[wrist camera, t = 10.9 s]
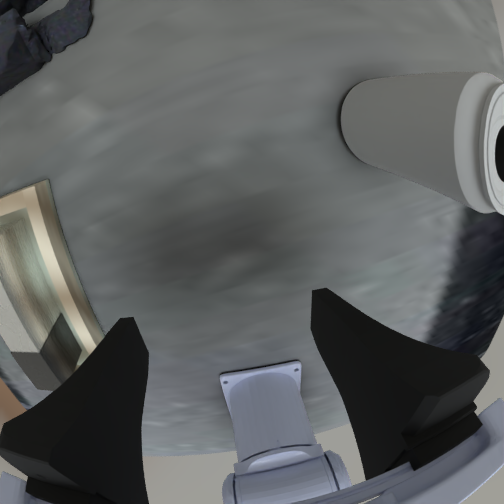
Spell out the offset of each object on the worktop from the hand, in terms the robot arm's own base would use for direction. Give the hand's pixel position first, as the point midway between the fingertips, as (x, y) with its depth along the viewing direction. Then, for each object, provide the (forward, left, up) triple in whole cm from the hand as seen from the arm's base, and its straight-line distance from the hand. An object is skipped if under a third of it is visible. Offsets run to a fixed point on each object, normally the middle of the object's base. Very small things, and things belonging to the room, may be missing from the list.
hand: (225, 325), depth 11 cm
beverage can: (+7, -12, -10) cm, 17 cm away
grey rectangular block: (-2, +16, -9) cm, 18 cm away
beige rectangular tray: (-3, +16, -9) cm, 19 cm away
